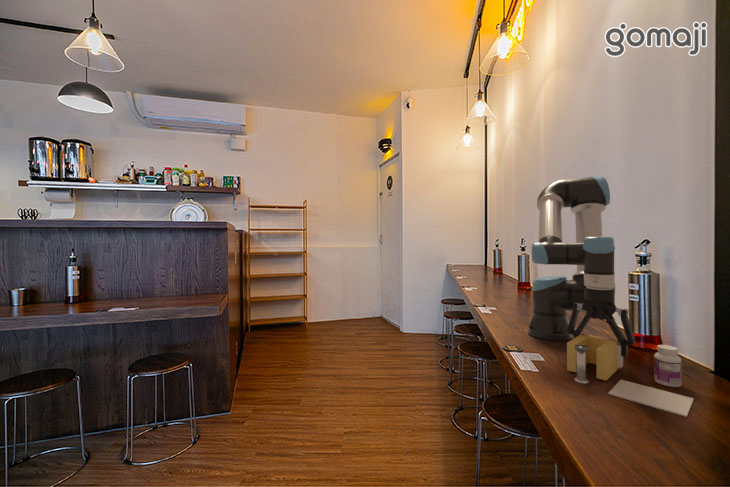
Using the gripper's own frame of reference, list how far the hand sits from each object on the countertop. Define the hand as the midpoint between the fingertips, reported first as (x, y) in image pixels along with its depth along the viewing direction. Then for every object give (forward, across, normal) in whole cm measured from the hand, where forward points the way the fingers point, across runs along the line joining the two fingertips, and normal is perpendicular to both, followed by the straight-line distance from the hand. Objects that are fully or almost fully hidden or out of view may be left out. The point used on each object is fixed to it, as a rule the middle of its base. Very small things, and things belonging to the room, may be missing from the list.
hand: (599, 361), depth 99 cm
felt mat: (+1, +14, -13) cm, 19 cm away
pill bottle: (+1, +15, 0) cm, 15 cm away
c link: (+1, 0, -5) cm, 5 cm away
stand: (+1, 0, -16) cm, 16 cm away
